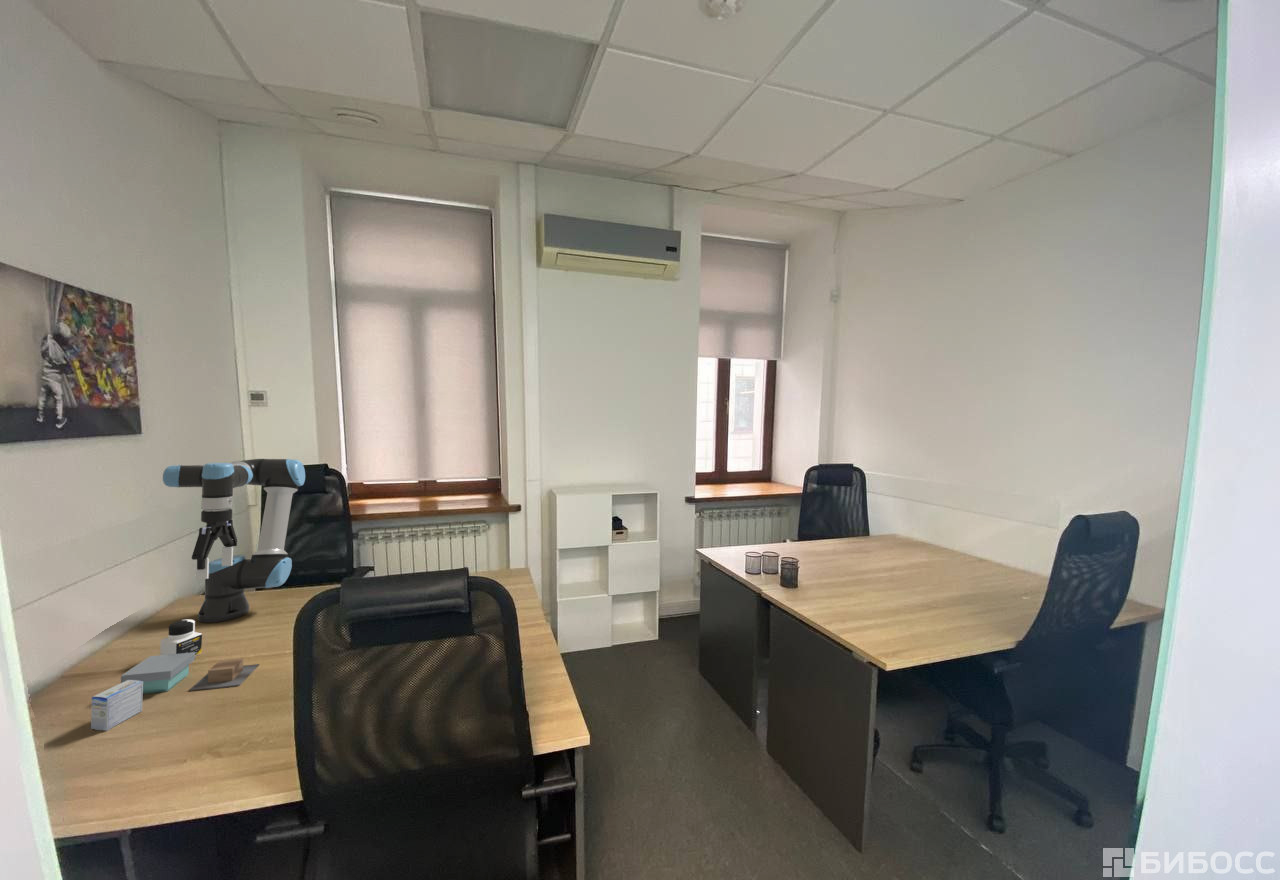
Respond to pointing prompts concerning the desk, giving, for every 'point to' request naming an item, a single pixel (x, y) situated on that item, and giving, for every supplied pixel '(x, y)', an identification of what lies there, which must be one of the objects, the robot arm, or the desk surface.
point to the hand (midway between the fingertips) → (215, 572)
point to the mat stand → (225, 675)
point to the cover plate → (159, 667)
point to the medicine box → (116, 705)
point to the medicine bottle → (182, 639)
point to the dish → (164, 682)
